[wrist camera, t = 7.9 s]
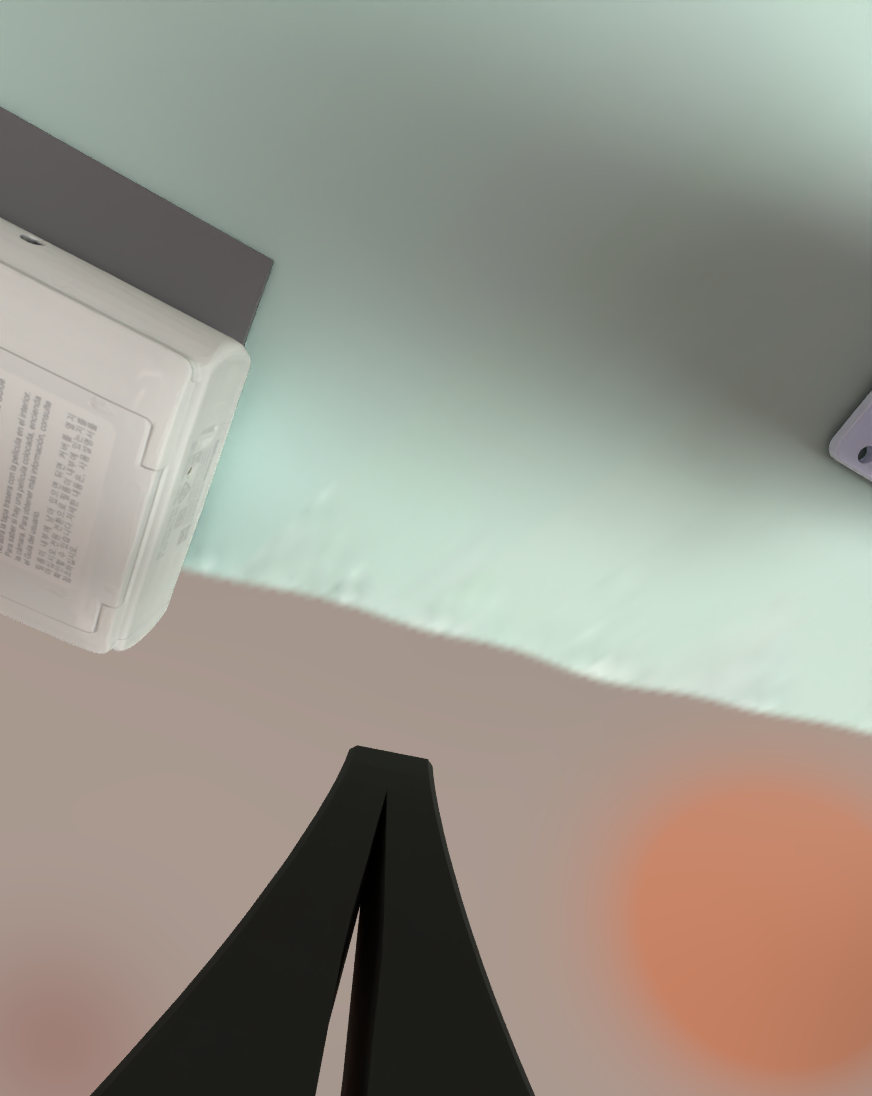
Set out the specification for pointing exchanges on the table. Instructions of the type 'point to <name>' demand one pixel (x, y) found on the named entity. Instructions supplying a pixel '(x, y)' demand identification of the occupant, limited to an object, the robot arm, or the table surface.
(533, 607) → the table surface
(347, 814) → the robot arm
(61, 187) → the mat
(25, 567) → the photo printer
